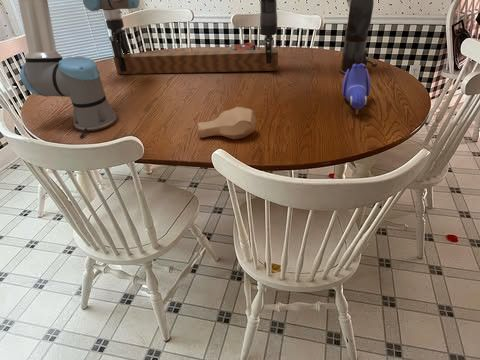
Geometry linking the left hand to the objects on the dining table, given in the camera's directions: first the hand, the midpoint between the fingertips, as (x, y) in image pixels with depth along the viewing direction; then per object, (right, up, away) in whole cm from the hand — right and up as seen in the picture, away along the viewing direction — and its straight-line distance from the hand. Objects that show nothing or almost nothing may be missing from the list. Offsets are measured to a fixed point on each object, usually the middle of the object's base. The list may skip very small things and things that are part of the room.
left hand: (126, 69), depth 176 cm
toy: (+100, -28, -43) cm, 112 cm away
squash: (+52, -40, -56) cm, 87 cm away
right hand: (+70, +1, -10) cm, 71 cm away
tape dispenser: (+58, +9, +11) cm, 60 cm away
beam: (+35, -2, -4) cm, 36 cm away
